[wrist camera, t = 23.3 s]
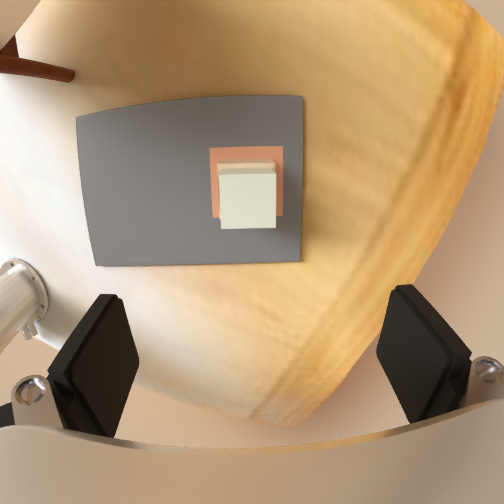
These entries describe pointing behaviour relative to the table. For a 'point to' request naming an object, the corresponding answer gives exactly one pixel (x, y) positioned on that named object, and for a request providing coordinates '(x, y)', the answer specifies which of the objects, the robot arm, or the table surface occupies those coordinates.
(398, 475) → the robot arm
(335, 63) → the table surface
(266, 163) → the maple block
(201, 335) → the table surface
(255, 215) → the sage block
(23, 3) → the plant pot with stand
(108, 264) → the board
